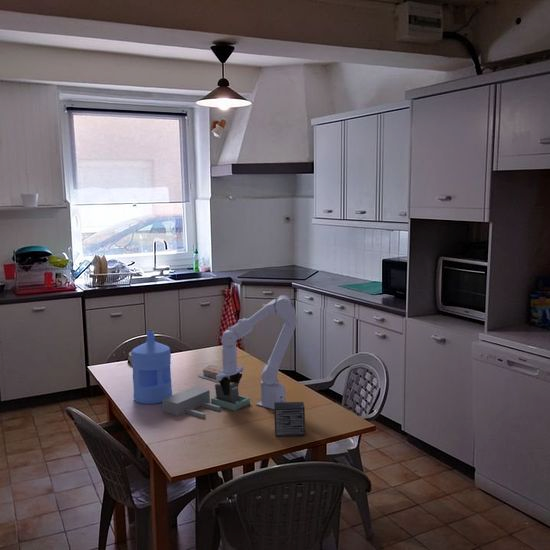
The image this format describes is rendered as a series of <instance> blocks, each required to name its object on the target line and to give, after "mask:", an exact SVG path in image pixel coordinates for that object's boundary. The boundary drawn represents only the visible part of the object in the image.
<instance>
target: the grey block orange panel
mask: <svg viewBox="0 0 550 550" xmlns="http://www.w3.org/2000/svg"><path fill="white" fill-rule="evenodd" d="M214 387H215V388H214V389H215V396H216V398H217V399H219V400H223V401H226V402H230V403H234V402H236V401H238V400H239V395H240V393H239V385H237V383H234V382H231V383H230V387H229V395H228V396H227V395H224V393H223V390H222V387H221V385H220V383H216V384H214Z"/></svg>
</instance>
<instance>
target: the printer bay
mask: <svg viewBox="0 0 550 550" xmlns="http://www.w3.org/2000/svg"><path fill="white" fill-rule="evenodd" d="M210 394H211V393H210V389H206V388H203V387H199V386H193V387H190V388H187V389H185V390H182V391H179V392H177V393H175V394H172V396H170V397H167V398H164V399H163V402H162V412H163V411H164V412H163V413H166V412H167V413H166V414H169V413H170V415H172V414H173V416H176V417H178V416H181V415H183V414H189V415H191V416H194V417H198V418H202V419H205V418H206V416H207V415H206V412H205V413H204V412H202V411H199V410H196V408H199V407H203V408H207V409H211V410H213V411H218V412H220V411H221V410H222V407H221V406H217V405H214V404H211V398H210V397H211V395H210Z"/></svg>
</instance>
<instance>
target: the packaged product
mask: <svg viewBox="0 0 550 550" xmlns="http://www.w3.org/2000/svg"><path fill="white" fill-rule="evenodd" d="M222 369H223V367H222V366H220V367H219V366H218V365H213V364H210V365H207V367H204V369H203V370H202V373H200V374H198V376H197V377H198V378H201V379H202V378H203V379H205V380H207V381H210V382H214V383H216V384H218V383H219V381H218V380H216V375H218V374H219V373H220V372H221V370H222ZM227 378H228V379H230V377H227Z"/></svg>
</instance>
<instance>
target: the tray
mask: <svg viewBox="0 0 550 550" xmlns="http://www.w3.org/2000/svg"><path fill="white" fill-rule="evenodd" d="M210 404H214V405H217V406H221V408H222V409H227V410H230V411H233V412H237V411H239V410H241V409H242V408H245V407H247V406H249V405H250V404H251V398H250V397H248V396H243V395H240V394H239V400H238V401H236V402H234V403H230V402H226V401H223V400H219V399H217V398H216V395H215V396H213V397H211V398H210Z"/></svg>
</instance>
